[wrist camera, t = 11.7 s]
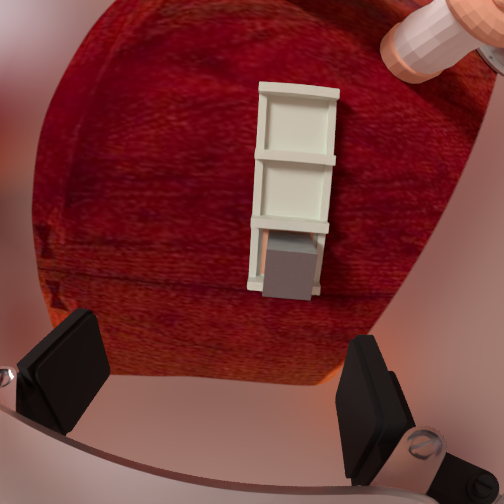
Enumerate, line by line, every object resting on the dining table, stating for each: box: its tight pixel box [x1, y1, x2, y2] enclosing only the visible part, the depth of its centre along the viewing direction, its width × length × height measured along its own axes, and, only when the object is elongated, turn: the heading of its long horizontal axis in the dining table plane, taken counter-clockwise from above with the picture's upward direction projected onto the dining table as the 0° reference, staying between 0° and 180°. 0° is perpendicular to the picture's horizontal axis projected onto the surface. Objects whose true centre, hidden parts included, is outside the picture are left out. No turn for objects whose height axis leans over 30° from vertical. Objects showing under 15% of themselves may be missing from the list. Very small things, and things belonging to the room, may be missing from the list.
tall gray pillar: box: [262, 230, 318, 300], centre depth 30 cm, size 4×4×7 cm
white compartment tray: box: [247, 82, 340, 295], centre depth 31 cm, size 8×22×3 cm, turn 177°
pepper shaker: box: [380, 0, 504, 84], centre depth 17 cm, size 7×7×19 cm
